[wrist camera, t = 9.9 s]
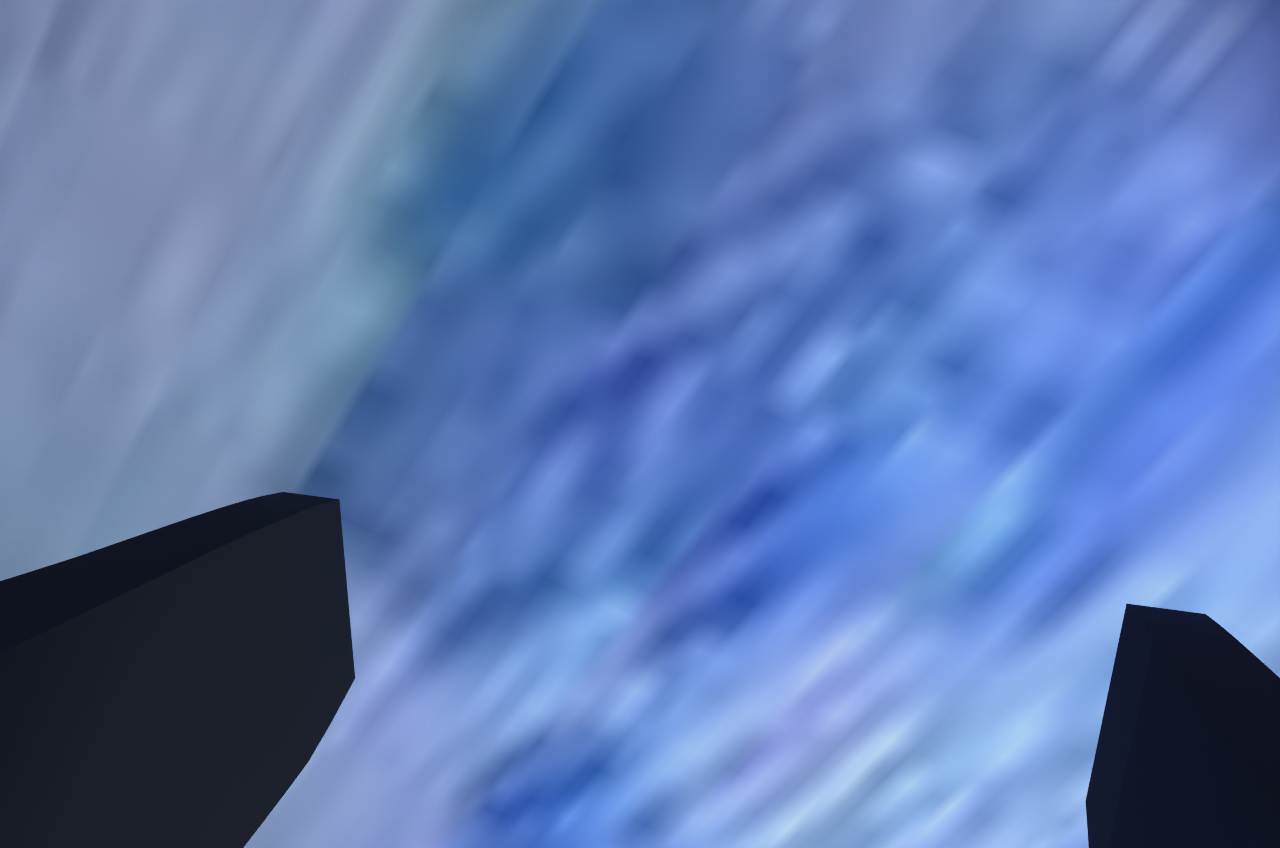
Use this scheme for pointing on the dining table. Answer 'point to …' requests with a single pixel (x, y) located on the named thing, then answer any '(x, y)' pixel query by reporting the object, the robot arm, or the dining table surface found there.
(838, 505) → the dining table surface
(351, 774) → the dining table surface
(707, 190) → the dining table surface
